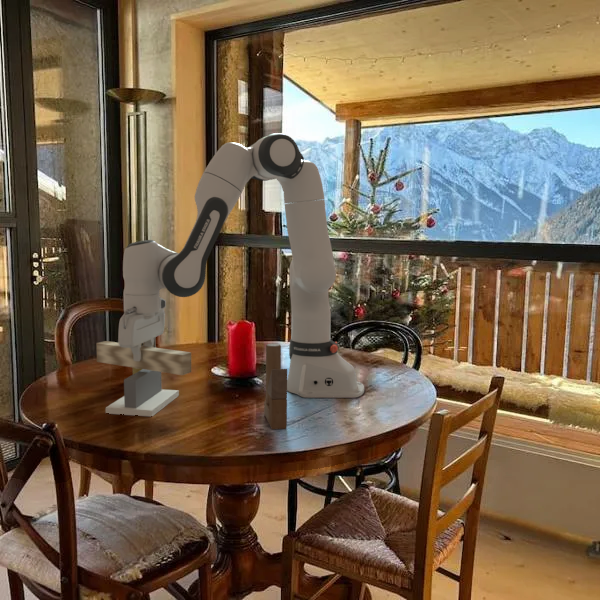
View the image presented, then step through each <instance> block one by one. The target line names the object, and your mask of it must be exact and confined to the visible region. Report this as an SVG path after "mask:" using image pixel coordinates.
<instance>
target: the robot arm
mask: <svg viewBox="0 0 600 600" xmlns="http://www.w3.org/2000/svg"><path fill="white" fill-rule="evenodd" d="M200 177H201V178H199V179H200V180H199V182H198V184H197V187H196V190H195V193H194V202H195V205H196V210H197V216H196V220H195V222H194V225H193V227H192V229H191V231H190V233H189V235H188V237H187V240H186V242H185V243H184V245H183V247H182V249H181V250H180V251H179V252H176V251H173V250H170V249H169V248H166V247H164V246H163V245H161V244H159V243H158V242H157V241H155V240H153V239H146V240H138V241H134V242H131V243H130V244H128V245H127V246H126V247H125V248H124V251H123V252H124V253H123V258H122V259H123V260H122V277H123V280H124V289H123V291H122V292H123V315H122V316H121V317H120V319H119V323H118V337H117V338H118V339H117V343H119V346H120V347H123V348H131V350H132V353H133V360H134V361H141V360H142V359H143V358H142V353H141V351H140V348H141V344H142V343H144V342H145V345H144V346H147V347H152V346H153V342H154V338H155V339H156V337H159V336H161V335H163V334H164V331H165V323H166V322H165V321H166V320H165V317H166V313H165V309H166V307H167V300H166V299H164V298H163V297H161V295H160V292H161V291H160V290H161V289H166V290H167V291H168V292H169V293H170V294H172V295H174V296H175V297H178V298H189V297H192V296H194V295H196V294H197V293H198V292H199V291H200V290H201V289H202V287H203V286H204V284H205V281H206V275H207V274H206V272H207V271H206V270H207V263H208V259H209V256H210V255H211V252H212V251H213V248H214V245H215V243H216V241H217V239H218V238H219V235H220V233H221V230H222V228H223V225H224V224H225V222H226V221H227V219H228V217H229V216H230V213H231V212H232V210H233V209H234V208H235V206H236V205H237V202H238V200H239V199H240V198H241V195H242V194H243V192H244V189H245V187H246V184H248V182H249V181H250V180H251V179H252V180H256V181H261V182H262V181H263V182H264V181H265V182H266V181H272V180H276V181H278V182H279V184H280V186H281V189H282V192H283V202H284V203H283V204H284V212H285V220H286V221H285V222H286V229H287V235H288V240H289V245H290V250H291V256H292V257H291V258H292V260H291V262H290V264H289V293H290V294H289V296H290V309H291V329H290V330H291V332H290V333H291V334H290V335H291V339H290V340H289V346H288V347H289V348H288V351H289V352H288V353H289V355H288V356H289V359H290V361H289V369H288V370H289V371H288V373H287V392H288V393H292V394H296V395H298V396H299V397H301V398H312V399H313V398H317V399H319V398H322V399H323V398H325V399H327V398H331V399H332V398H334V399H335V398H337V399H338V398H339V399H340V398H341V399H344V398H350V399H351V398H359V397H361V396H362V395H364V393H365V385H364V384H363V383H362V382H361V381H358V377H357V372H356V369H355V367H354V366H353V365H352V364H351V363H349V362H348V361H347V360H346V359H344V358H343V357H342V356H341V355H340V354H339V353H338V349H339V347H338V342H337V341H333V340H332V339H331V327H332V325H331V323H332V322H331V320H332V319H331V318H332V312H331V306H330V299H329V289H330V288H332V287H333V285H334V283H335V282H336V276H337V272H336V265H335V259H334V254H333V248H332V243H331V240H330V236H329V235H330V234H329V230H328V221H327V212H326V211H327V210H326V203H325V193H324V188H323V187H324V186H323V182H322V178H321V175H320V171H319V168H318V166H317V165H316V163H314V162H312V161H310V160H305V158H304V155H303V154H302V153H301V151H300V149H299V146H298V144H297V143H296V141H295V140H294V139H293V138H292V137H291V136H289V135H288V134H284V133H280V132H279V133H278V132H277V133H276V132H275V133H271V134H268V135H267V136H263V137H261V138H259V139H258V140H257V141H256V142H254V143H253V144H251V145H249V146H248V147H247V146H246V147H245V146H243V145H242V144H240V143H238V142H233V141H231V142H229V141H228V142H226V143H224V144H222V145H221V146H220V147H219V149H218V150H217V151H216V152H215V154H214V155H213V157H212V158H211V159H210V161H209V163H208V165H207V166H206V167H205V170H204V171H203V173H202V175H201V176H200Z"/></svg>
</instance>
